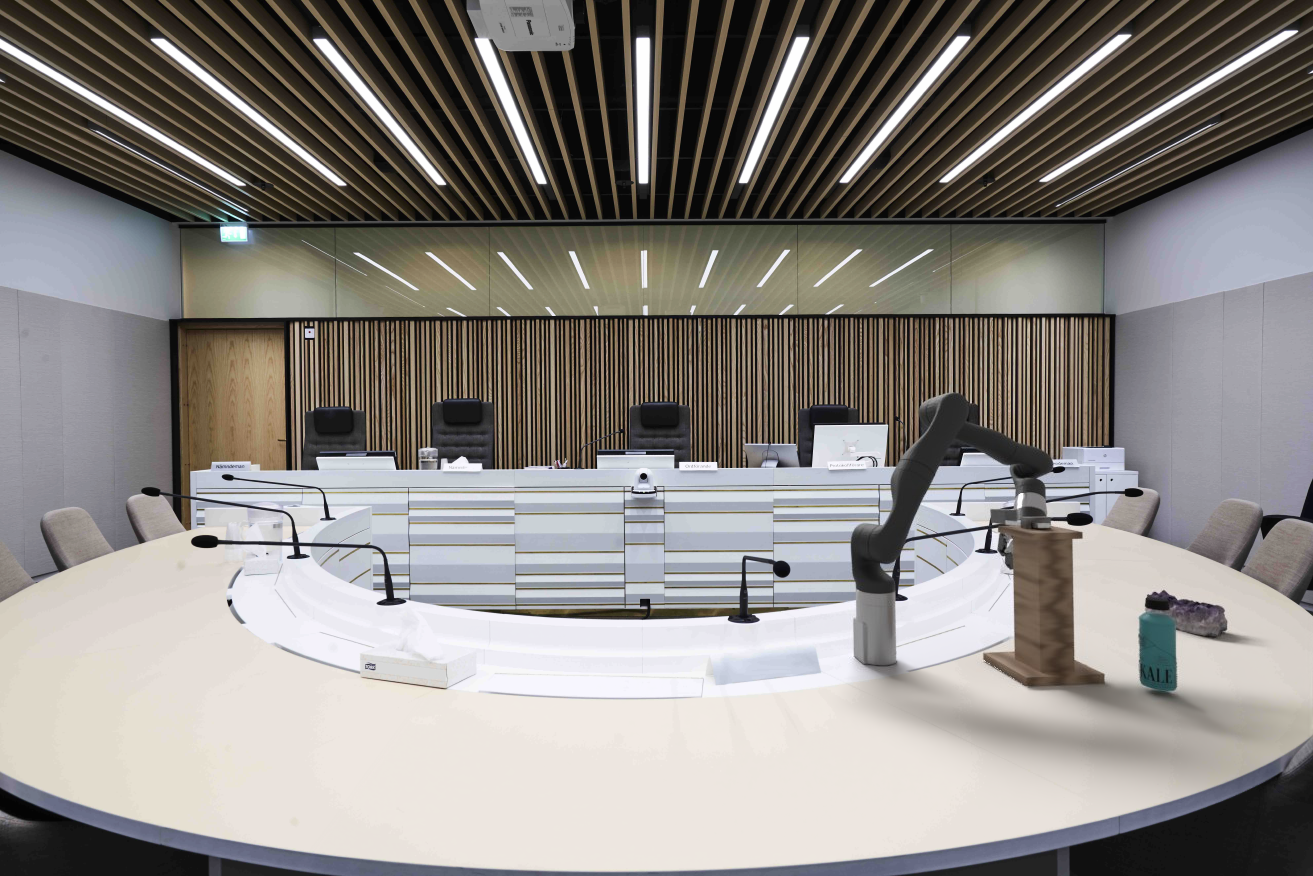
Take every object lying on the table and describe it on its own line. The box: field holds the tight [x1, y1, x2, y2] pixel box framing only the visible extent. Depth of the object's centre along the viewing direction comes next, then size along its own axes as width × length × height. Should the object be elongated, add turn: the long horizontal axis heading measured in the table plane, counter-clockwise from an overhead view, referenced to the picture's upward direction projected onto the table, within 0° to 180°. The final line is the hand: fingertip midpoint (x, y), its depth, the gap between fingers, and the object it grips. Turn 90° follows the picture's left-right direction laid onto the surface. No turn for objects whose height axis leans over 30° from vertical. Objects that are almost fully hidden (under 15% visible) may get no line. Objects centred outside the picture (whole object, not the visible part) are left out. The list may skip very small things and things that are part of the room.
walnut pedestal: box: [982, 516, 1106, 687], centre depth 146 cm, size 18×16×36 cm
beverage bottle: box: [1137, 596, 1179, 692], centre depth 133 cm, size 6×7×20 cm
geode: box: [1144, 589, 1228, 638], centre depth 178 cm, size 20×12×10 cm, turn 19°
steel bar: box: [990, 508, 1052, 528], centre depth 153 cm, size 3×18×4 cm, turn 4°
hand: (1028, 566), depth 156 cm, fingers open, 8 cm apart
